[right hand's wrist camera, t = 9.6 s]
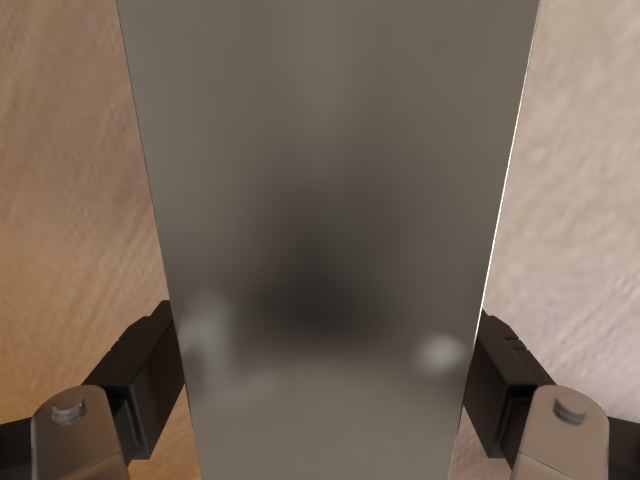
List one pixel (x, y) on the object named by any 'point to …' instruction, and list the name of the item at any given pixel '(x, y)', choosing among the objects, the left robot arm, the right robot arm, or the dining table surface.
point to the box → (327, 218)
